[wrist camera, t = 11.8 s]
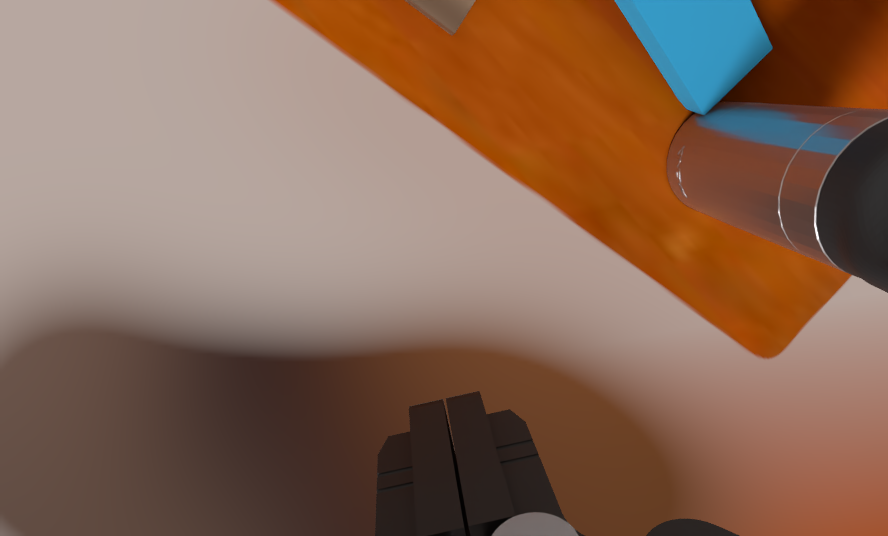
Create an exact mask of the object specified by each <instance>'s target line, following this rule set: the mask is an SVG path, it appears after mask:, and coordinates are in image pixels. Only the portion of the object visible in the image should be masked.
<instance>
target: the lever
mask: <svg viewBox="0 0 888 536" xmlns="http://www.w3.org/2000/svg"><path fill="white" fill-rule="evenodd" d="M615 2H616V4H617V5H618V7H619V8H620V10H621V11H622V13H623V14H624V16H625V18H626V19H627V21H628V22H629V24H630V25H631V27H632V28H633V30H634V31H635V33H636V35H637V36H638V38H639V39H640V41H641V42H642V44H643V45H644V47H645V49H646V50H647V52H648V53H649V55H650V56H651V58H652V59H653V61H654V63H655V64H656V66H657V67H658V69H659V70H660V72H661V73H662V75H663V77H664V78H665V80H666V81H667V83H668V84H669V86H670V87H671V89H672V90H673V92H674V94H675V95H676V97H677V98H678V100H679V101H680V102H681V103H682V104H683V106H684V107H685V108H686V109H688V110H690V111H693V112H696V113H698V114H701V115H706V114H707V113H708V112H709V111H710V110H711V109H712V108H713V107H714V106H715V105H716V104H717V103H718V102H719V101H720V100H721V99H722V98H723V97H724V96H725V95H726V94H727V93H728V92H729V91H730V90H731V89H732V88H733V87H734V86H735V85H736V84H737V83H738V82H739V81H740V80H741V79H742V78H743V77H744V76H745V75H746V74H747V73H748V72H749V71H750V70H752V69H753V68H754V67H755V66H756V65H757V64H758V63H759V62H760V61H761V60H762V59H763V58H764V57H765V56H766V55H767V54H768V53H769V52H770V51H771V50H772V48H773V47H772V45H771V43H770V41H769V39H768V37H767V34H766V32H765V30H764V28H763V26H762V24H761V22H760V20H759V18H758V16H757V13H756V11H755V9H754V7H753V5H752V3H751V1H750V0H615Z"/></svg>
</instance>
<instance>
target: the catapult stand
mask: <svg viewBox="0 0 888 536" xmlns="http://www.w3.org/2000/svg"><path fill="white" fill-rule="evenodd" d="M405 1H406V2H408V3H409V4H410V5H412V6H413V7H414V8H416V9H417V10H418V11H420V12H421V13H422V14H424V15H425V16H426V17H428V18H429V19H430V20H432V21H433V22H434V23H436V24H437V25H438V26H440V27H441V28H442V29H444V30H445V31H446V32H448V33H449V34H450V35H453V34H455V32H456V31H457V29H458V27H459V26H460V24H461V23H462V21H463V20H464V18H465V16H466V15H467V13H468V12H469V10H470V8H471V7H472V5H473V4H474V2H475V0H405Z"/></svg>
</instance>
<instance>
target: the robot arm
mask: <svg viewBox="0 0 888 536" xmlns="http://www.w3.org/2000/svg"><path fill="white" fill-rule="evenodd" d="M667 174H668V180H669V183H670V185H671V188H672V190H673V192H674V193H675V195H676V196H677V197H678V199H679V200H680V201H682V202H683V203H684V204H685V205H686V206H688V207H690V208H693V209H695V210H697V211H699V212H702V213H704V214H706V215H709V216H711V217H714V218H716V219H718V220H720V221H723V222H725V223H728V224H730V225H732V226H735V227H737V228H740V229H742V230H745V231H747V232H749V233H752V234H754V235H757V236H759V237H761V238H764V239H766V240H769V241H771V242H774V243H776V244H778V245H781V246H783V247H786V248H788V249H790V250H793V251H795V252H798V253H800V254H803V255H805V256H807V257H810V258H813V259H815V260H818V261H820V262H822V263H825V264H827V265H830V266H832V267H835V268H837V269H839V270H842V271H844V272H847V273H849V274H851V275H854V276H856V277H859V278H862V279H863V280H865V281H866V282H868V283H869V284H871V285H873V286H875V287H877V288H879V289H881V290H883V291H885V292H887V293H888V110H886V109H861V108H842V107H823V106H804V105H786V104H767V103H751V102H720V103H717V104H716V105H715V106H714V107H713V108H712V109H711V110H710V111H709V112H708V113H707V114H706V115H701V114H698V113H695V114H693V115H692V116H691V117H690V118H689V119H688V120H687V121H686V122H685V123H684V124H683V125H682V126H681V128H680V129H679V131H678V132H677V133H676V135H675V137H674V139H673V141H672V144H671V146H670V150H669V154H668V158H667ZM446 402H447V408H448V413H449V419H450V424H451V430H452V436H453V441H452V437H451V432H450V427H449V423H448V419H447V414H446V409H445V405H444V401H443V399H441V400H437V401H432V402H428V403H423V404H419V405H414V406H410V407H409V415H410V416H409V417H410V432H406V433H401V434H397V435H392V436H388V438H387V440H386V442H385V443H384V445H383V447H382V449H381V450H380V452H379V454H378V468H377V475H378V478H377V497H376V498H377V499H376V528H375V529H376V530H375V536H584V535H582V534H581V533H579V532H578V531H576V530H575V529H574V528H573V527H572V526H571V525H570V524H569V523H568V522H567V521H566V519H565V518H564V516H563V514H562V512H561V509H560V507H559V505H558V502H557V500H556V497H555V494H554V492H553V490H552V487H551V484H550V482H549V480H548V477H547V475H546V472H545V469H544V467H543V464H542V462H541V459H540V458H539V455H538V452H537V450H536V447H535V445H534V443H533V441H532V437H531V434H530V432H529V430H528V427H527V424H526V422H525V421H523V420H522V419H521V418H520V417H519V416H517V415H516V414H515V413H513V412H512V411H511V410H505V411H501V412H496V413H491V414H487V415H486V412H485V409H484V405H483V402H482V398H481V395H480V392H479V391H477V392H473V393H468V394H464V395H459V396H455V397H450V398H446ZM453 442H454V445H453ZM454 447H455V450H454ZM455 453H456V454H455ZM647 536H739V535H736V534H734V533H732V532H730V531H728V530H725V529H723V528H721V527H719V526H716V525H714V524H711V523H708V522H704V521H701V520H695V519H676V520H670V521H666V522H664V523H661V524H659V525H658V526H656V527H654V528H653V529H652V530H651V531H650V532H649V533H648V534H647Z"/></svg>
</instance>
